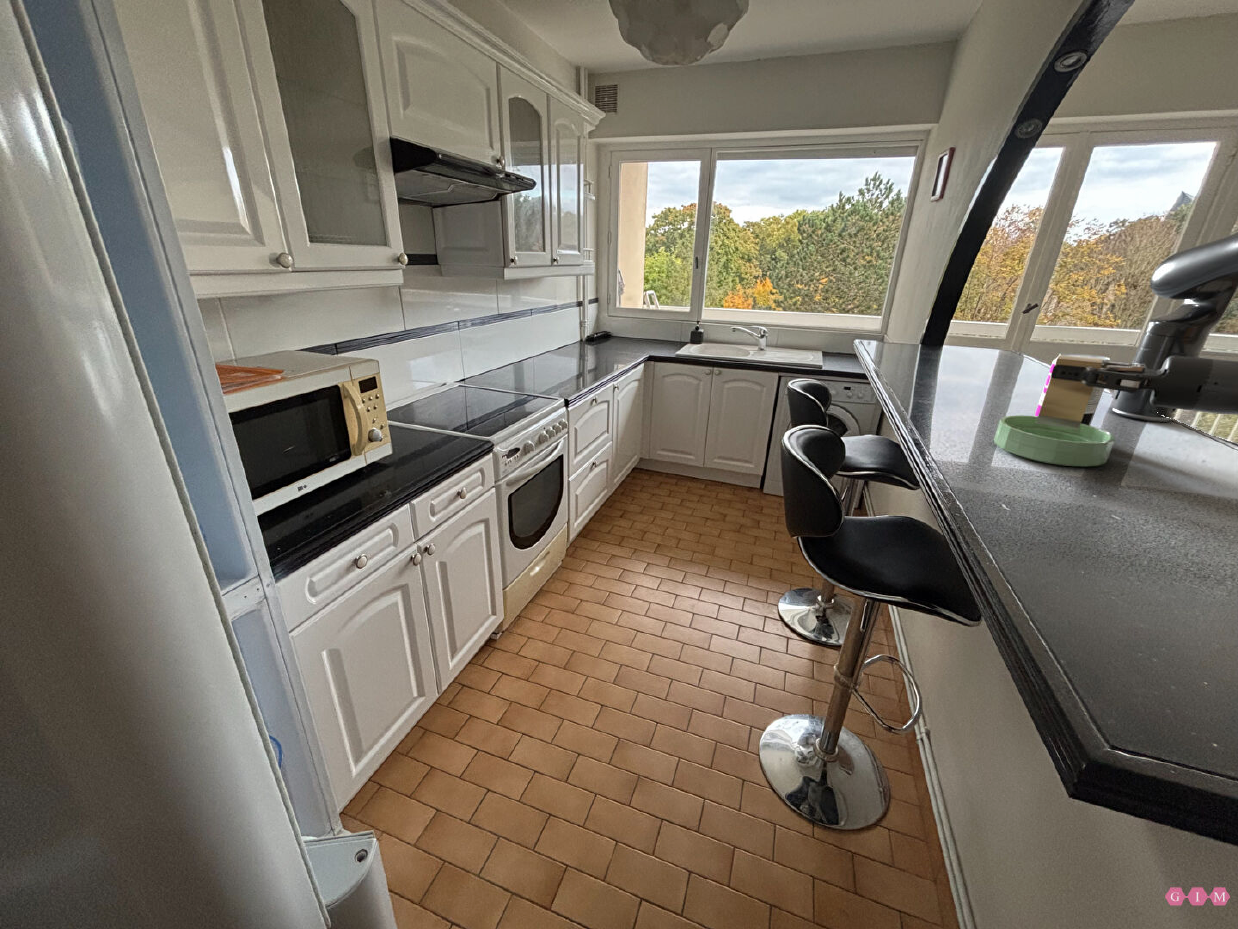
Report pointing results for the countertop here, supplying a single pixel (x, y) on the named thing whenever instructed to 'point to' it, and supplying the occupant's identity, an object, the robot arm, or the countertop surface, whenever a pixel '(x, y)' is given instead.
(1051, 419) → the light brown wooden block
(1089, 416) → the supplement can
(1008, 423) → the bowl
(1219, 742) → the countertop surface
